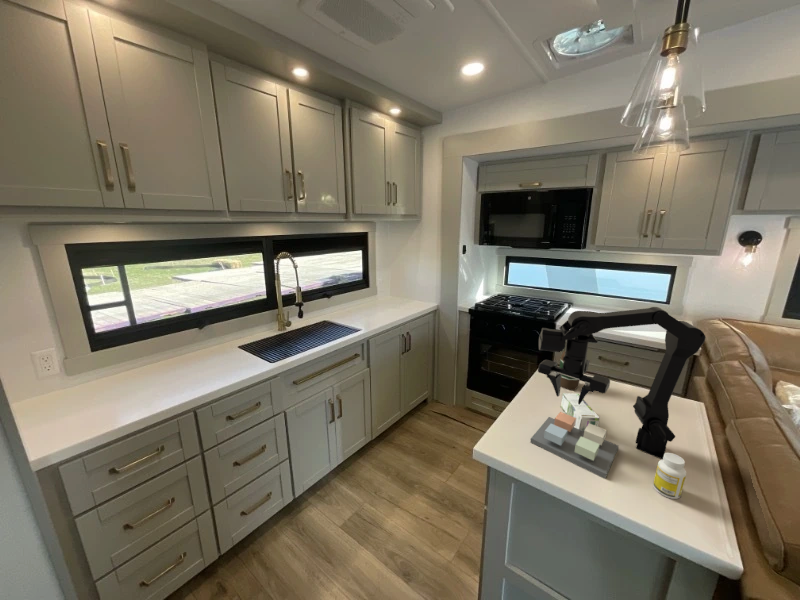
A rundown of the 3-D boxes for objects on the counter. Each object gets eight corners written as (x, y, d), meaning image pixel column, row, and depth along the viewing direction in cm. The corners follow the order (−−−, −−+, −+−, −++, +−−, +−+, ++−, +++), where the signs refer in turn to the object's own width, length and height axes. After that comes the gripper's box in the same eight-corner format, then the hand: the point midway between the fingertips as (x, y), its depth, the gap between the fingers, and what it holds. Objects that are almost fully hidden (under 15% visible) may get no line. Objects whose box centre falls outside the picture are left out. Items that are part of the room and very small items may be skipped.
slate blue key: (566, 437, 95) (567, 430, 95) (560, 445, 92) (562, 438, 91) (549, 430, 99) (550, 423, 98) (543, 437, 95) (544, 430, 95)
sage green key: (598, 451, 90) (599, 444, 89) (593, 460, 86) (595, 453, 86) (579, 443, 93) (580, 436, 92) (574, 451, 90) (575, 444, 89)
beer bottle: (552, 382, 133) (560, 328, 127) (566, 379, 135) (574, 326, 129) (568, 392, 126) (577, 335, 120) (582, 388, 128) (592, 332, 122)
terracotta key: (575, 424, 101) (576, 418, 101) (570, 432, 98) (571, 425, 97) (559, 418, 104) (560, 411, 104) (553, 425, 101) (555, 418, 100)
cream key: (605, 437, 96) (606, 430, 95) (601, 445, 92) (602, 438, 92) (587, 430, 99) (589, 423, 98) (583, 437, 95) (584, 430, 95)
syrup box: (575, 407, 116) (598, 433, 102) (559, 406, 116) (579, 432, 102) (578, 393, 114) (601, 417, 100) (561, 392, 115) (582, 417, 101)
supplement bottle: (667, 481, 83) (675, 450, 81) (686, 499, 78) (695, 466, 76) (647, 482, 83) (655, 450, 81) (664, 500, 78) (673, 466, 75)
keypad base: (617, 449, 95) (618, 445, 94) (605, 478, 84) (606, 474, 84) (548, 420, 108) (549, 416, 108) (530, 442, 98) (530, 438, 97)
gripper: (618, 354, 94) (609, 401, 98) (553, 338, 107) (547, 380, 111) (609, 367, 86) (600, 417, 90) (540, 347, 99) (534, 392, 103)
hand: (568, 399), depth 99 cm, fingers open, 6 cm apart
